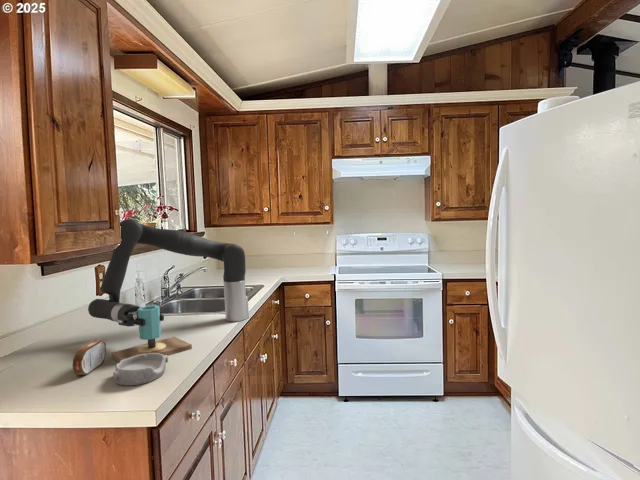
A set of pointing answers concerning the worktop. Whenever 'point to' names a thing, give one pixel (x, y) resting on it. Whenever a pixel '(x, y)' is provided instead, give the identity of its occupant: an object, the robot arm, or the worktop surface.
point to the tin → (89, 357)
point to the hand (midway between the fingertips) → (153, 320)
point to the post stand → (153, 348)
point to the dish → (140, 369)
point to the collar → (150, 322)
